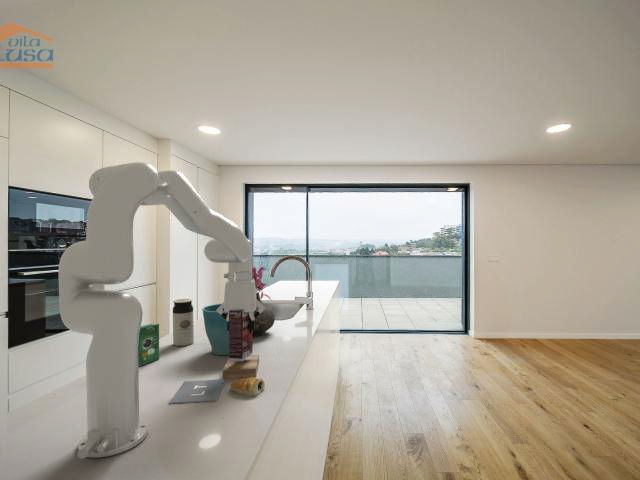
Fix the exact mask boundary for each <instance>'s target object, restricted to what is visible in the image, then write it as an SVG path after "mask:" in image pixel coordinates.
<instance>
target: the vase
mask: <svg viewBox="0 0 640 480" xmlns="http://www.w3.org/2000/svg"><path fill="white" fill-rule="evenodd" d="M263 270H264V271H265V270H266V268H265V266H261V267H260V268H259V269H258V271H257V268H256V267H255V266H253V267H252V280H254V283H255V288H256V290H258V292H256V298H257V300H258V301H259V302H260V303H261V304H262V305H263V306H264V308H265V309H264V310H263V311H262V312H261V313H260V314H259V315H258V316H257V318H256V319H255V329H254V330H253V331H252V335H258V336H262V335H264V334H265V333H266V332H267V331H269V330H270V329H272V327H273V326H274V324H275V320H276V318H275V317H276V314H275V311H274V309H273V308H272V307H271V306H270V305H269V304H267V303H265V302H263V301H262V299H263V297H264V296H265V297H266V298H268V299H269V300H270V301H272V302H273V300H272V298H271V297H270V295H267V294H264V292H263V290H264V287H265V286H267V285H268V284H267V283H263V282H262V279H263V273H264V272H263ZM260 293H261V294H260ZM258 310H259V308H258V307H256V310H255V311H254V314H255V313H256V312H257V311H258ZM263 333H264V334H263ZM261 334H262V335H261Z"/></svg>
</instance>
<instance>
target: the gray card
mask: <svg viewBox="0 0 640 480" xmlns="http://www.w3.org/2000/svg"><path fill="white" fill-rule="evenodd" d="M225 382H226V378H222V379H221V378H220V379H205V380H204V379H203V380H187V381H183V382H182V384H181V386H180V387H179V388H178V390H177V391H176V392H175V394H174V395H173V396H172V398H171V399H170V401H169V402H168V404H169V405H174V404H191V403H192V404H193V403H207V402H208V403H209V402H217V401H218V398H219V397H220V396H219V395H220V393H221V391H222V389H223V387H224V384H225Z"/></svg>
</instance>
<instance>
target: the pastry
mask: <svg viewBox="0 0 640 480" xmlns="http://www.w3.org/2000/svg"><path fill="white" fill-rule="evenodd" d="M229 386H230V389H231V391H232V392H234V393H236V394H238V395H242V396H247V397H249V396H250V397H256V396H258V395H259V394H260V393H261V392H262V391H263V390H264V389H265V387H266V385H265V381H264V379H263V378H262V377H261V378H258V377H243V378H241V379H236V380H234V381H233V382H230V385H229Z"/></svg>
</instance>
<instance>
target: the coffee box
mask: <svg viewBox="0 0 640 480" xmlns="http://www.w3.org/2000/svg"><path fill="white" fill-rule="evenodd" d="M158 360H160V324H159V323H157V322H154V323H153V322H152V323H150V324H144V325H141V327H140V333H139V341H138V367H143V366H145V365H148V364H150V363H152V362H156V361H158Z"/></svg>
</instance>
